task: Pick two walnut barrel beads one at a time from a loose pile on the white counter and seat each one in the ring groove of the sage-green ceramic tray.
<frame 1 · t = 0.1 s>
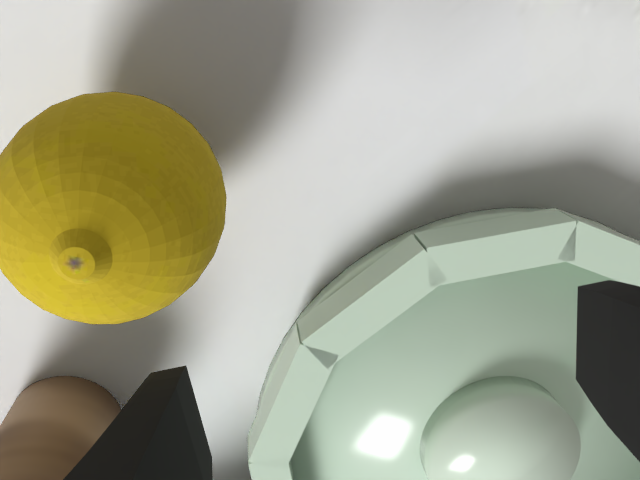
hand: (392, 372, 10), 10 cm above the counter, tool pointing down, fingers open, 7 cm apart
lemon: (142, 166, 18), on the counter
bead b: (67, 421, 21), on the counter
tray: (481, 423, 24), on the counter
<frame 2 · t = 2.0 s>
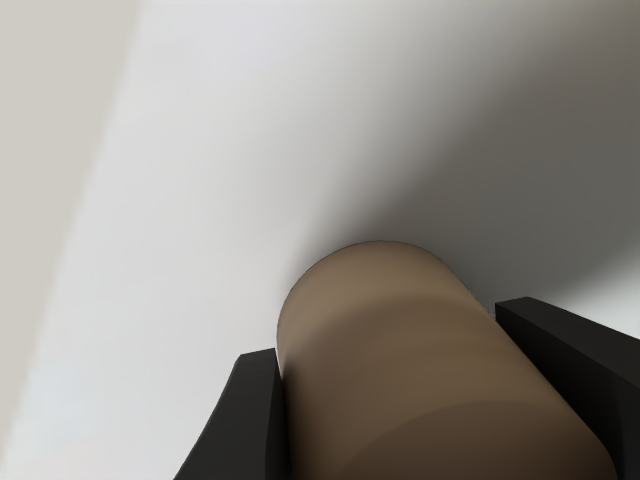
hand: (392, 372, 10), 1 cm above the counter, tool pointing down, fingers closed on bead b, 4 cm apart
bead b: (374, 332, 12), on the counter, touching gripper
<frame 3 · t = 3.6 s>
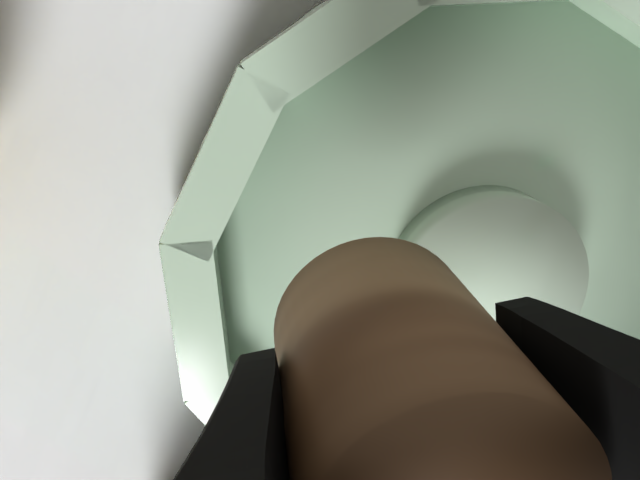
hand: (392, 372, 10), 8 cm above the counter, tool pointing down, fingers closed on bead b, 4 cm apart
bead b: (371, 328, 12), point 7 cm above the counter, touching gripper
tray: (464, 263, 19), on the counter
when the fingers open (3 cm above the counter, at t = 5.4 s): bead b stays where it is, resting on tray.
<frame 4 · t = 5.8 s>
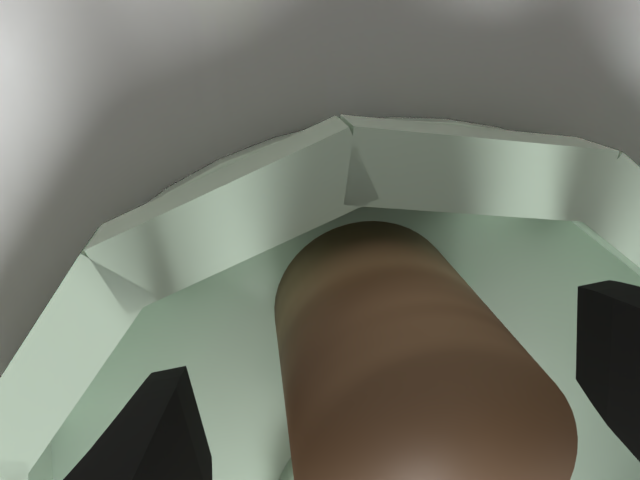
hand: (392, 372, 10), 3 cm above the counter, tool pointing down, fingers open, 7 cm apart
bead b: (365, 307, 12), point 1 cm above the counter, touching tray
tray: (381, 470, 15), on the counter
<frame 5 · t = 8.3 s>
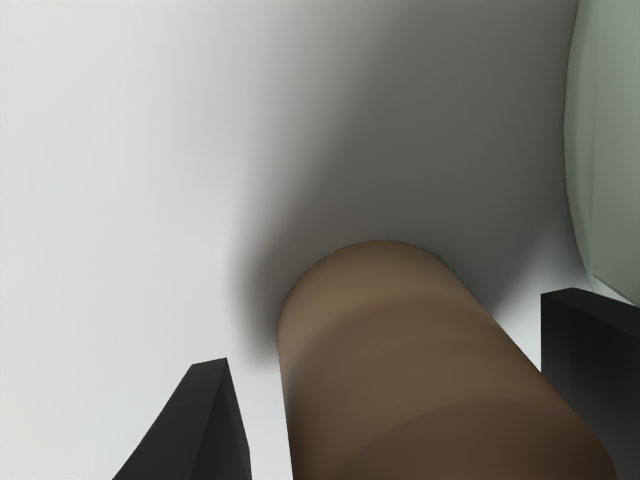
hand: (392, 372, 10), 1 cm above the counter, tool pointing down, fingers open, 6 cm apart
bead a: (374, 331, 12), on the counter
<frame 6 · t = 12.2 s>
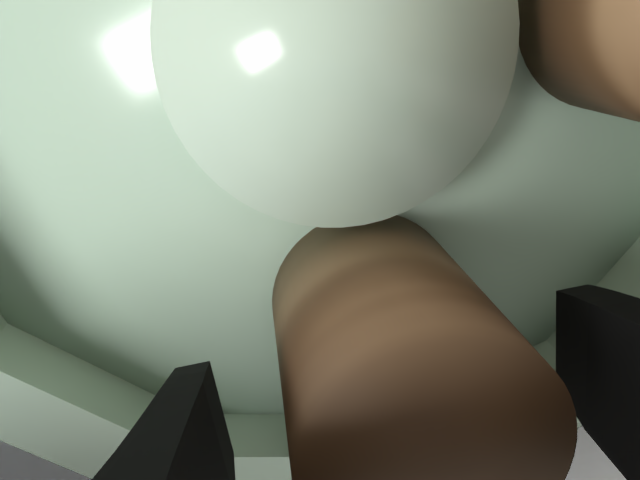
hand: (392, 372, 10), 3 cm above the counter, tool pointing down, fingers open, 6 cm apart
bead b: (615, 2, 11), point 1 cm above the counter, touching tray
tray: (321, 47, 11), on the counter
bead a: (363, 298, 12), point 1 cm above the counter, touching tray
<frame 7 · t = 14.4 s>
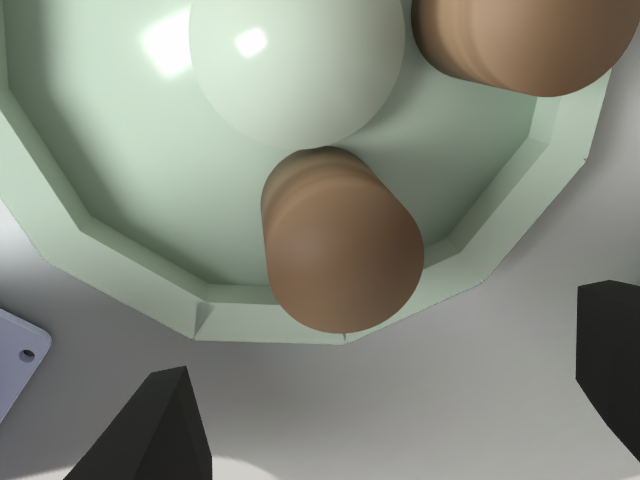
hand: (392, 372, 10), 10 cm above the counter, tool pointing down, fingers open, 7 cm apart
bead b: (474, 11, 17), point 1 cm above the counter, touching tray
tray: (291, 39, 18), on the counter
bead a: (320, 205, 19), point 1 cm above the counter, touching tray
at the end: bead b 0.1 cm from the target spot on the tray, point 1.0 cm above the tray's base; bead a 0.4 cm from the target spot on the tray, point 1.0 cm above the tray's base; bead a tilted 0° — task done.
